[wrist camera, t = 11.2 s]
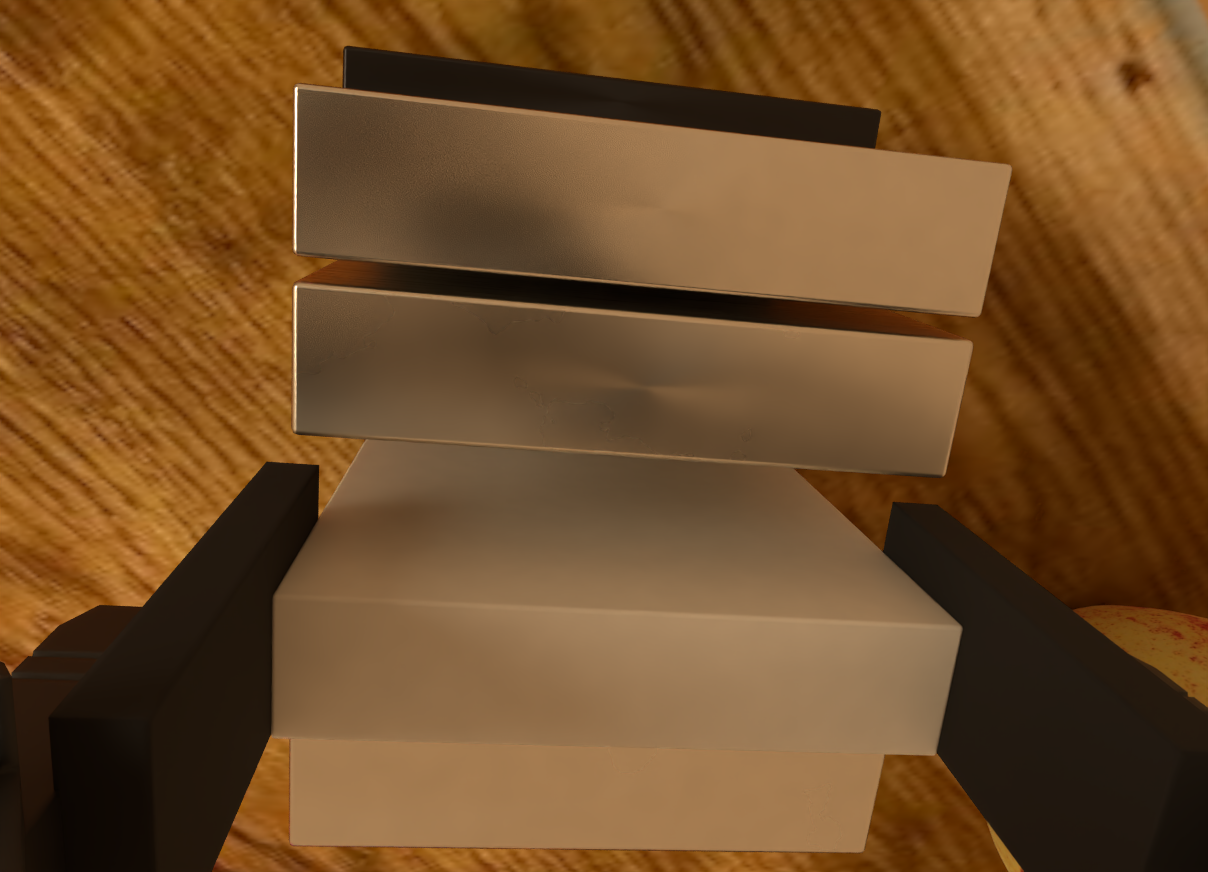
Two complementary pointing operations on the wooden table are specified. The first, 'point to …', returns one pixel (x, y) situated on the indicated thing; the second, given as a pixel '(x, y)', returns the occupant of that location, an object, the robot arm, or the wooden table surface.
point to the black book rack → (618, 372)
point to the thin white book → (601, 610)
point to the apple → (1149, 654)
